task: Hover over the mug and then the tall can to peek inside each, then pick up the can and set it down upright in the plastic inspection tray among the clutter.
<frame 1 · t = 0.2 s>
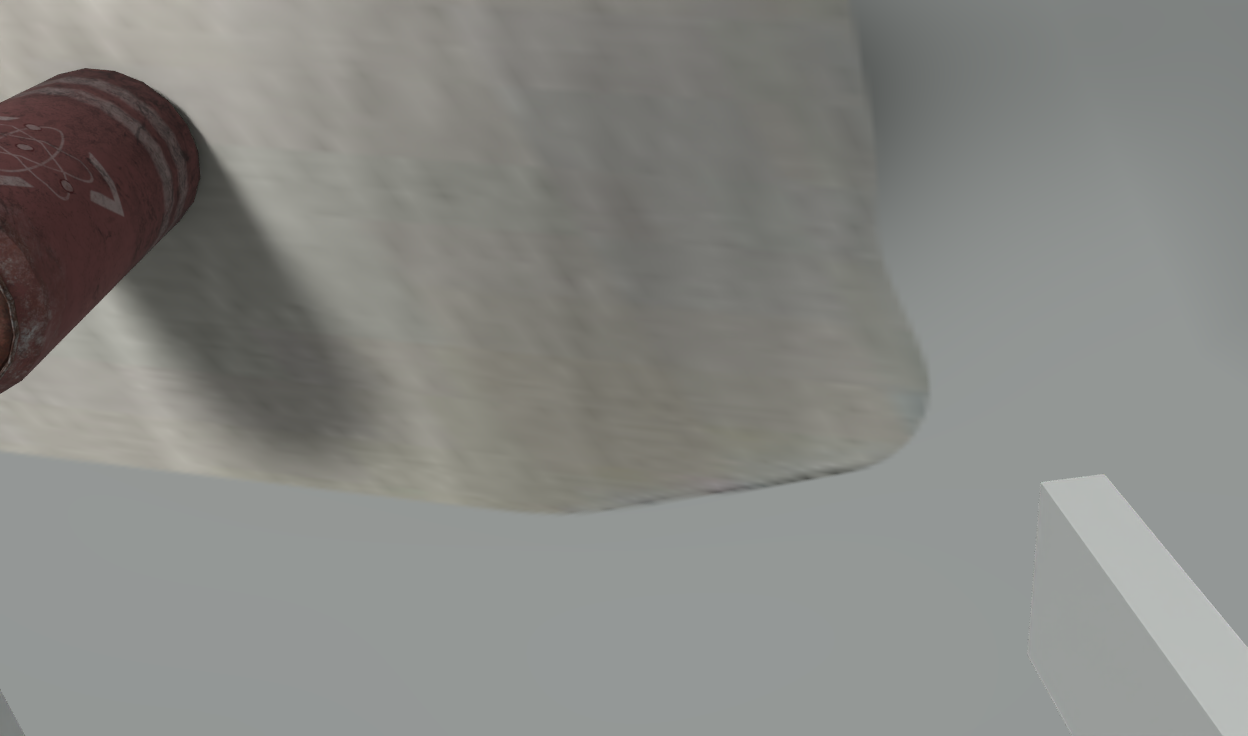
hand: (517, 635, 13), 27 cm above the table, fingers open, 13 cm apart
can: (115, 151, 38), on the table
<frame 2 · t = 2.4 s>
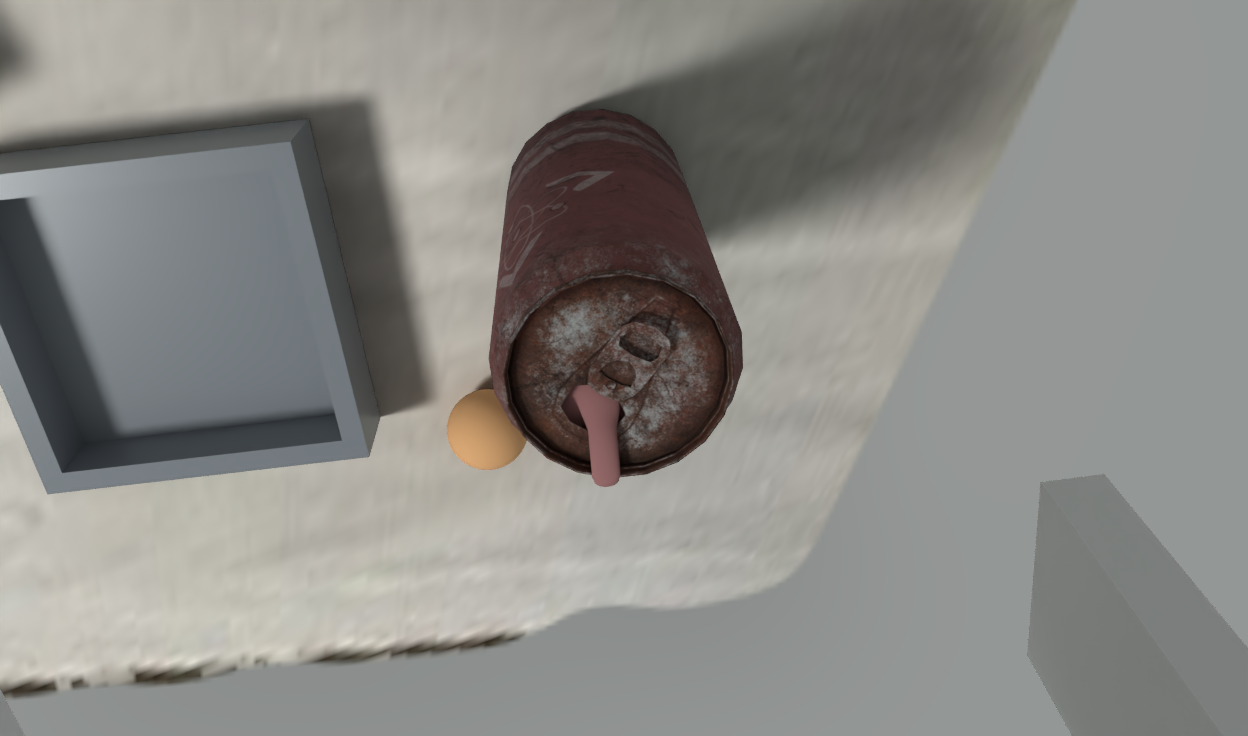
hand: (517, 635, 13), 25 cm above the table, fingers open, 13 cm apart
rubber ball: (487, 429, 39), point 1 cm above the table
tray: (185, 297, 38), on the table
can: (595, 194, 37), on the table
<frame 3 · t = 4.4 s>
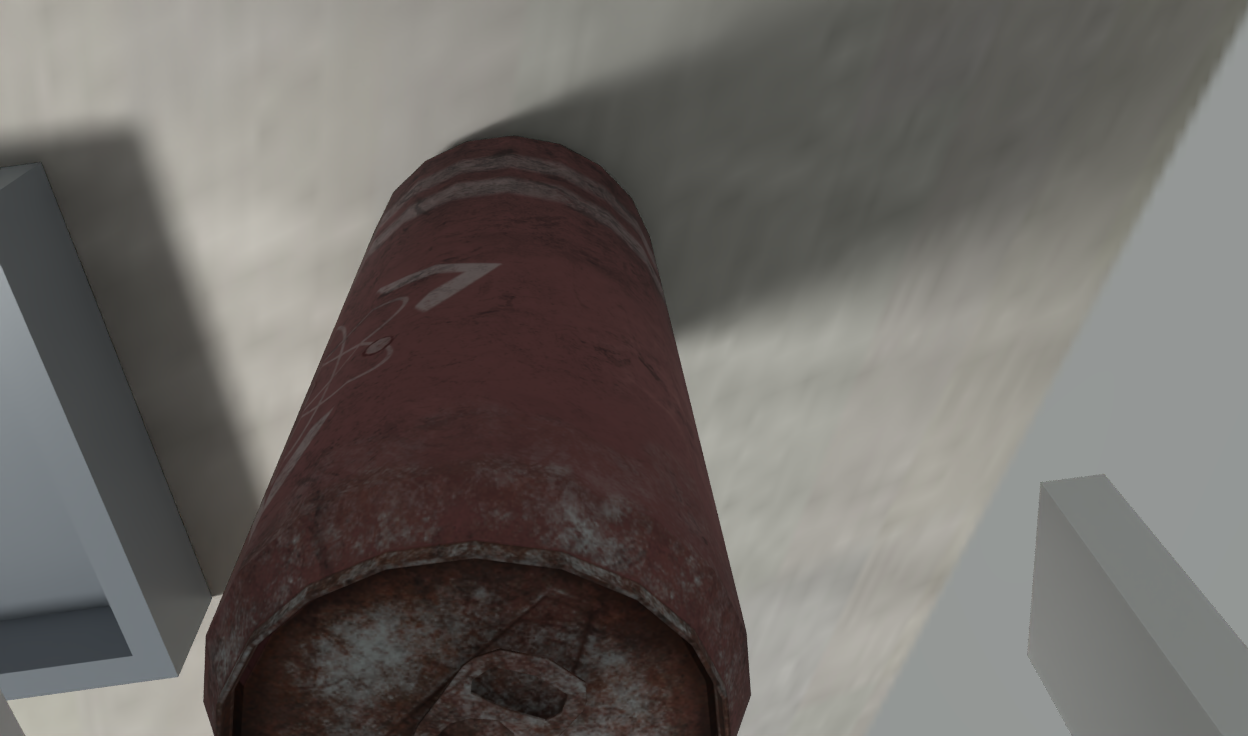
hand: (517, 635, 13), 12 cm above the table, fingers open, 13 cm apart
can: (515, 267, 24), on the table
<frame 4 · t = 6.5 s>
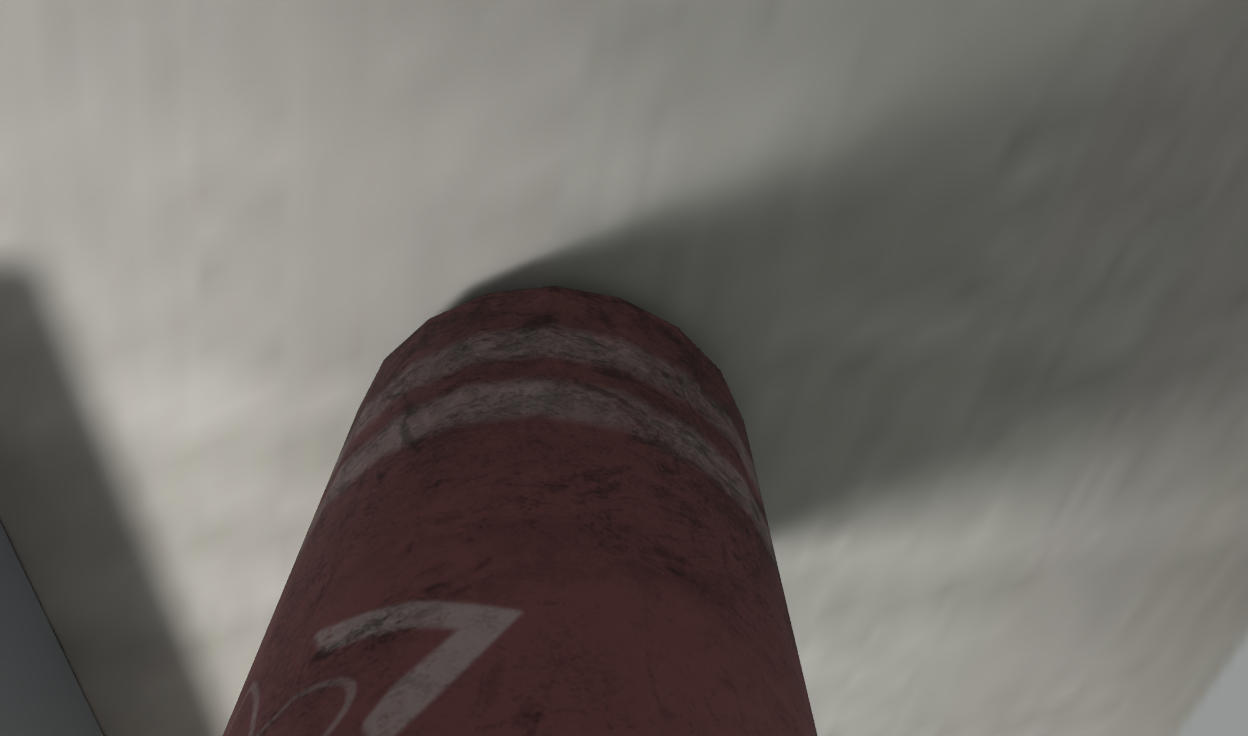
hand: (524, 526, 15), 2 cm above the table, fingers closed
can: (554, 448, 17), on the table, touching hand
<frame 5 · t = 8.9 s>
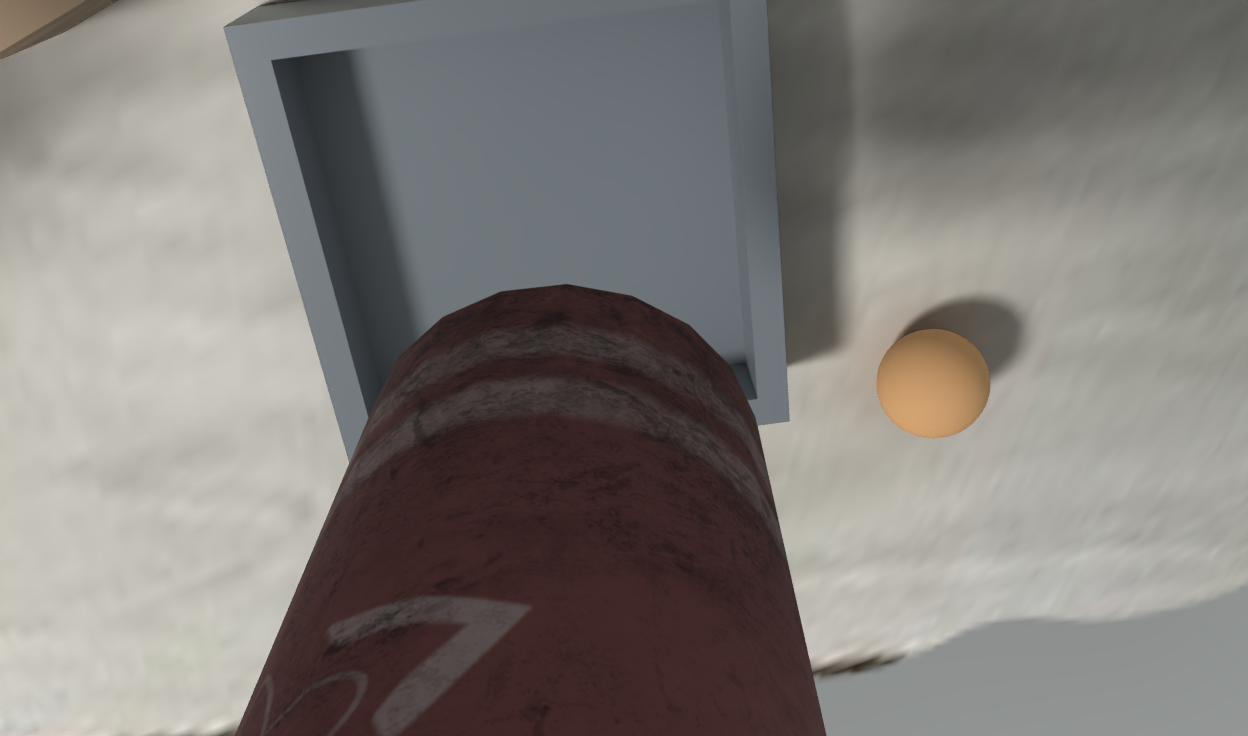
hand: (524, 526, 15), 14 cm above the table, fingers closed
rubber ball: (932, 383, 29), point 1 cm above the table
tray: (538, 206, 27), on the table
can: (567, 445, 17), point 12 cm above the table, touching hand
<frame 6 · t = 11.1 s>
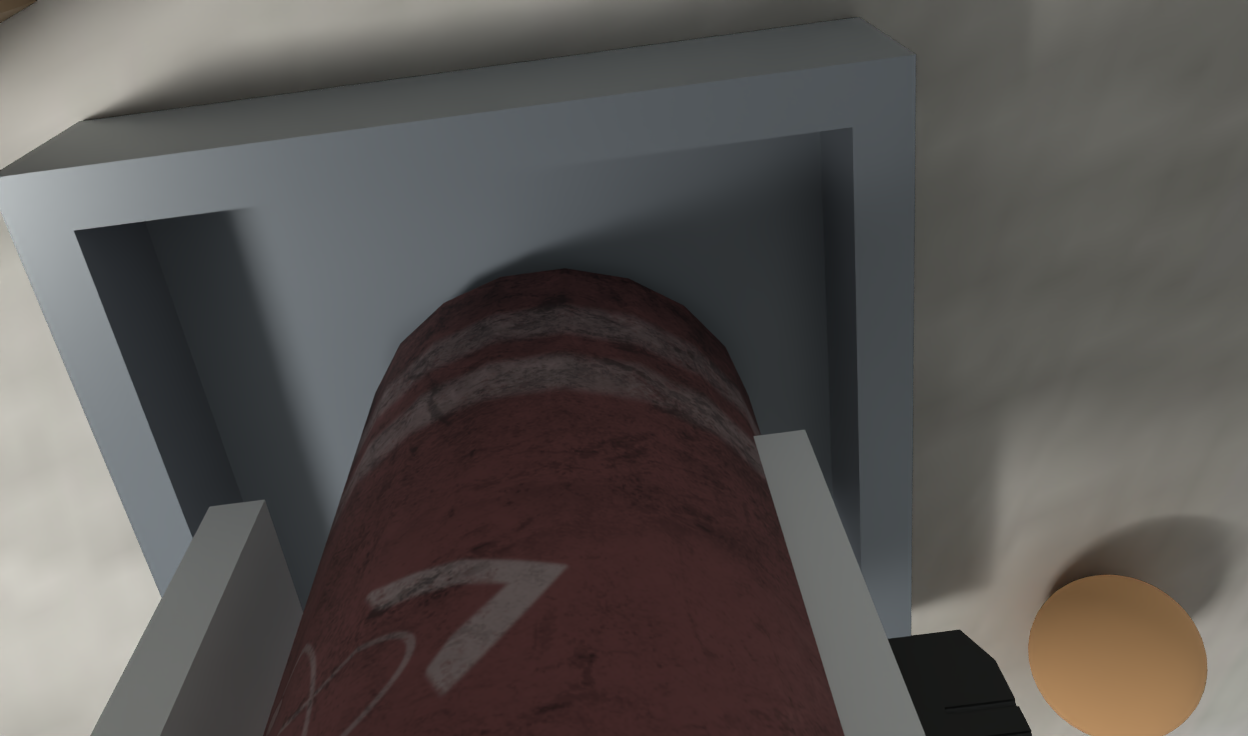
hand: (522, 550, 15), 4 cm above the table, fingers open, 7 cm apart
rubber ball: (1114, 657, 19), point 1 cm above the table
tray: (531, 408, 18), on the table
can: (564, 428, 18), point 1 cm above the table, touching tray
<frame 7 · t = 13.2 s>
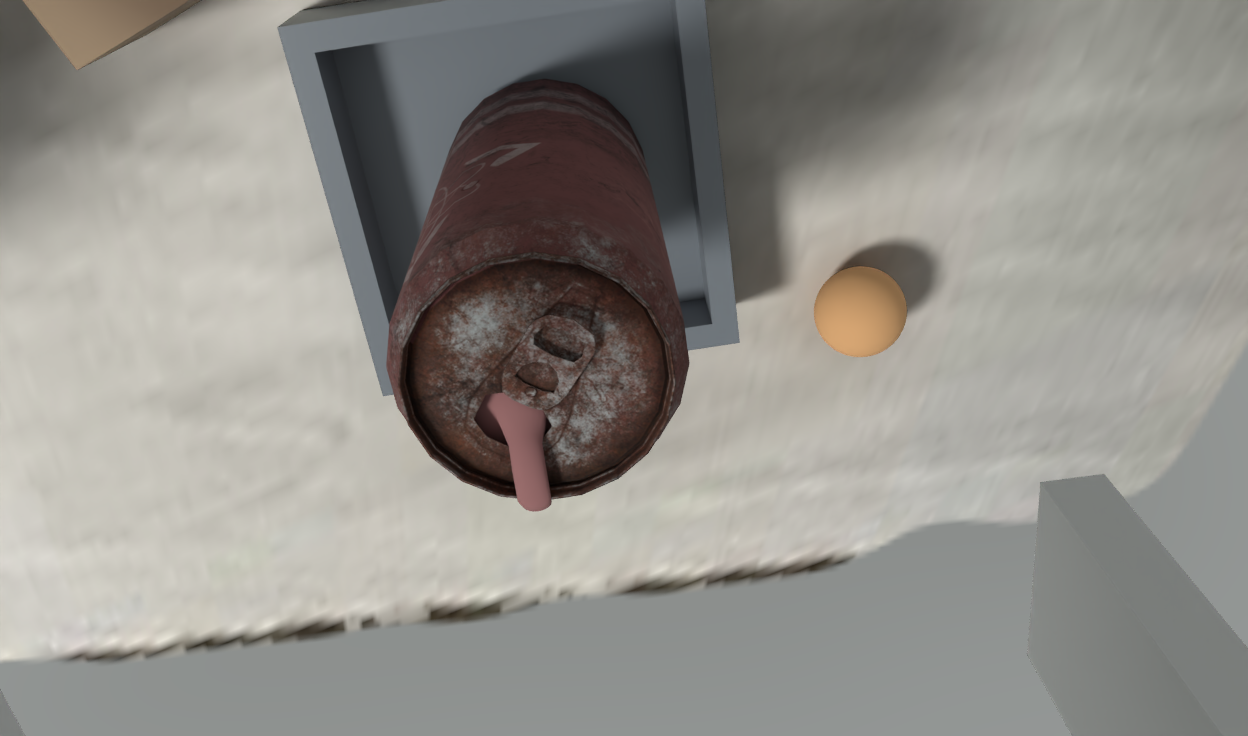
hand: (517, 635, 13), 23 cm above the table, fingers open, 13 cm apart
rubber ball: (860, 311, 35), point 1 cm above the table
tray: (530, 170, 34), on the table
can: (548, 176, 33), point 1 cm above the table, touching tray
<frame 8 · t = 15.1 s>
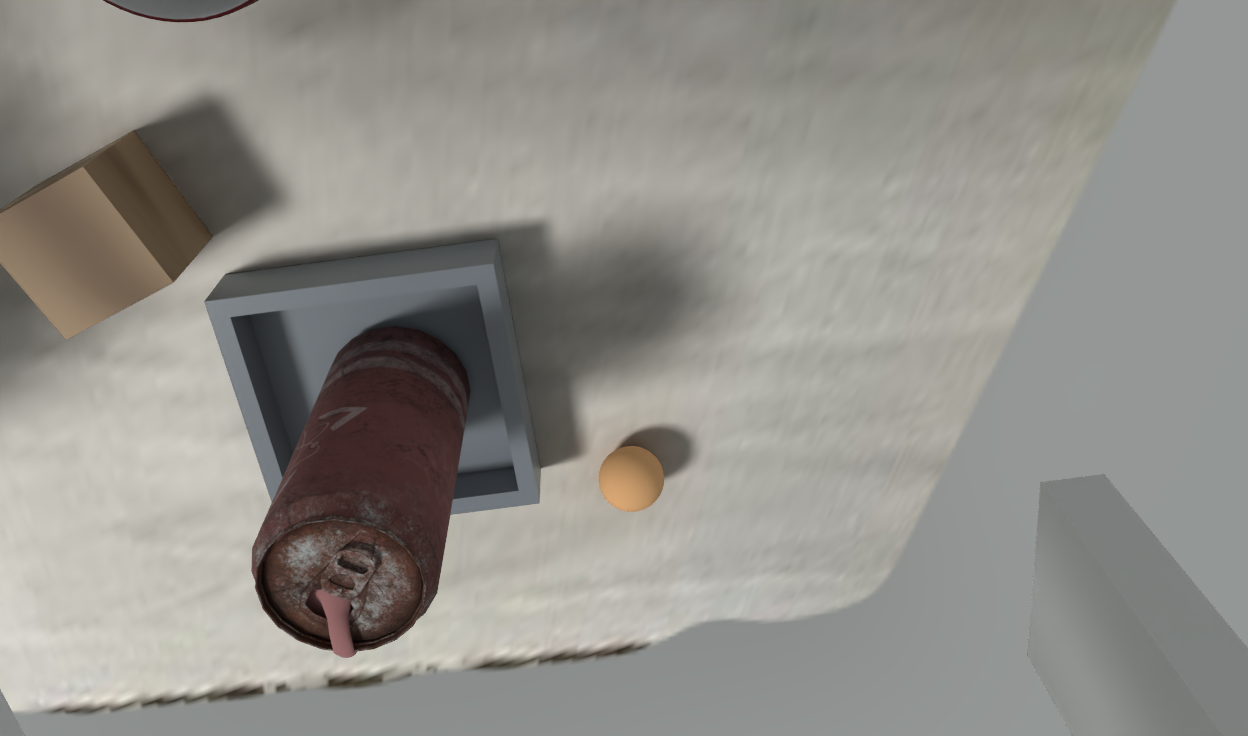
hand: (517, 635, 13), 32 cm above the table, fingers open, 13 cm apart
rubber ball: (631, 478, 48), point 1 cm above the table
tray: (391, 377, 47), on the table
walnut block: (124, 211, 43), on the table
can: (402, 384, 46), point 1 cm above the table, touching tray
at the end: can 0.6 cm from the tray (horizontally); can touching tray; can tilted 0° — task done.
